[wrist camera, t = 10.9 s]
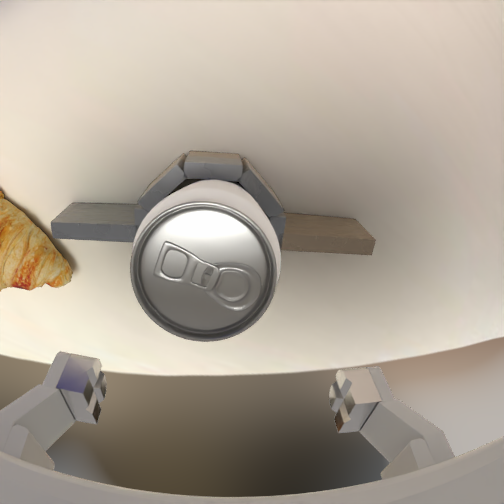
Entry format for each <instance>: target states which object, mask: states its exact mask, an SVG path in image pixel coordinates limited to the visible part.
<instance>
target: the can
mask: <svg viewBox="0 0 504 504" xmlns="http://www.w3.org/2000/svg"><path fill="white" fill-rule="evenodd" d="M280 270H281V252H280V246H279V242H278V238H277V236H276V233H275V231H274V229H273V227H272V225H271V223H270V221H269V219H268V218H267V216H266V215H265V213H264V212H263V210H262V209H261V208H260V206H259V205H258V203H257V202H256V201H255V200H254V198H253V197H252V196H251V195H250V194H249V193H248V192H247V191H246V189H244V188H243V187H242V186H240V185H239V184H237V183H235V182H233V181H223V180H206V179H203V180H200V181H197V182H195V183H192V184H190V185H188V186H186V187H184V188H182V189H180V190H178V191H176V192H174V193H173V194H171V195H169V196H167V197H166V198H164V199H163V200H162V201H160V202H159V203H158V204H157V205H155V206H154V207H153V208H152V209H151V211H150V212H149V213H148V214H147V215H146V217H145V218H144V220H143V221H142V223H141V225H140V226H139V228H138V231H137V233H136V236H135V239H134V243H133V248H132V256H131V263H130V275H131V282H132V287H133V290H134V293H135V296H136V298H137V300H138V302H139V304H140V305H141V307H142V309H143V310H144V311H145V313H146V314H147V315H148V316H149V317H150V318H151V319H152V320H153V321H154V322H155V323H156V324H157V325H159V326H160V327H161V328H163V329H164V330H166V331H168V332H169V333H171V334H173V335H176V336H178V337H181V338H184V339H188V340H193V341H203V342H209V341H218V340H223V339H227V338H230V337H233V336H235V335H238V334H240V333H242V332H243V331H245V330H247V329H248V328H249V327H251V326H252V325H253V324H254V323H256V322H257V321H258V320H259V319H260V317H261V316H262V315H263V314H264V312H265V311H266V310H267V308H268V306H269V304H270V302H271V300H272V298H273V295H274V292H275V289H276V286H277V283H278V280H279V276H280Z"/></svg>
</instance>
